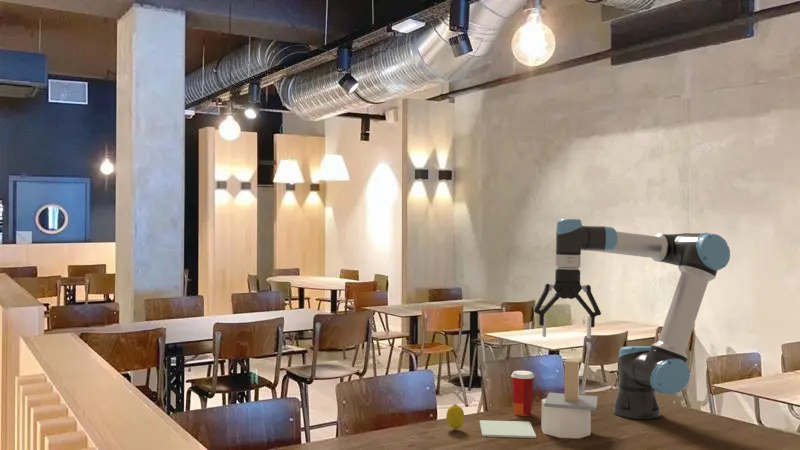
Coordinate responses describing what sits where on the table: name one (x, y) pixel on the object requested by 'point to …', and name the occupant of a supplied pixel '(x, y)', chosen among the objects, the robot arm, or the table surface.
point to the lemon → (455, 417)
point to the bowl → (565, 422)
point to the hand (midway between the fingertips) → (566, 337)
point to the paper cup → (522, 392)
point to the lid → (571, 391)
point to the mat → (507, 429)
